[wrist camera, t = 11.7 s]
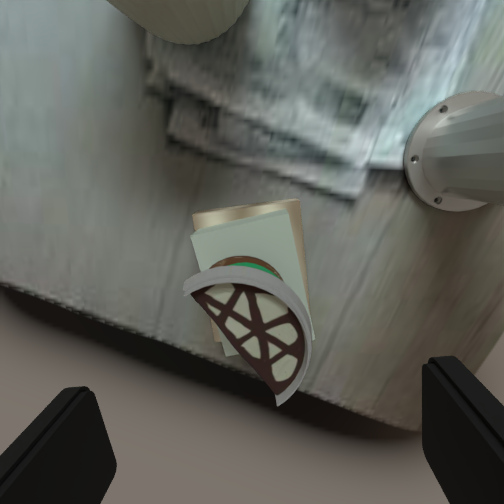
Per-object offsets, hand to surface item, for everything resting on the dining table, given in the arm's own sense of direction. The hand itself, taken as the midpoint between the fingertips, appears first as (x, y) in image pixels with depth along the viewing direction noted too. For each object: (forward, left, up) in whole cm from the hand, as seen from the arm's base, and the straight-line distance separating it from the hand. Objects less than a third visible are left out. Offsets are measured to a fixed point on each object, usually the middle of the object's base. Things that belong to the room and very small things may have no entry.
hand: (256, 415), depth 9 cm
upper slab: (+1, +5, -27) cm, 27 cm away
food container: (0, +5, -23) cm, 23 cm away
